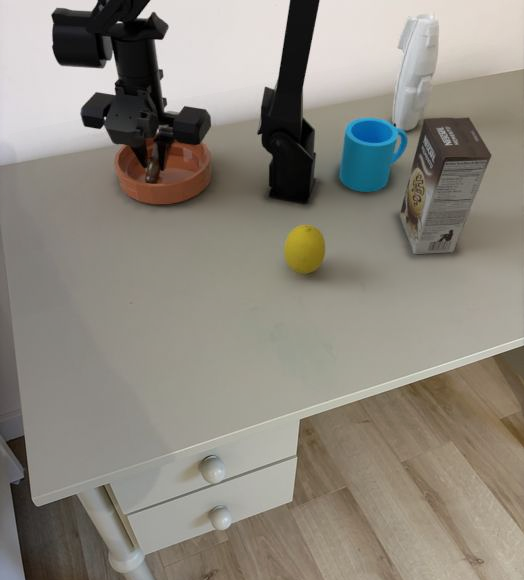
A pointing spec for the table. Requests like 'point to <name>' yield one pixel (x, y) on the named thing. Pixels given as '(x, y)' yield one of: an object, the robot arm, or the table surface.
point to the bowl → (165, 173)
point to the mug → (369, 153)
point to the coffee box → (443, 183)
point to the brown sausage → (153, 167)
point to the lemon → (304, 249)
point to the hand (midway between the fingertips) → (154, 168)
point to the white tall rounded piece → (415, 70)
